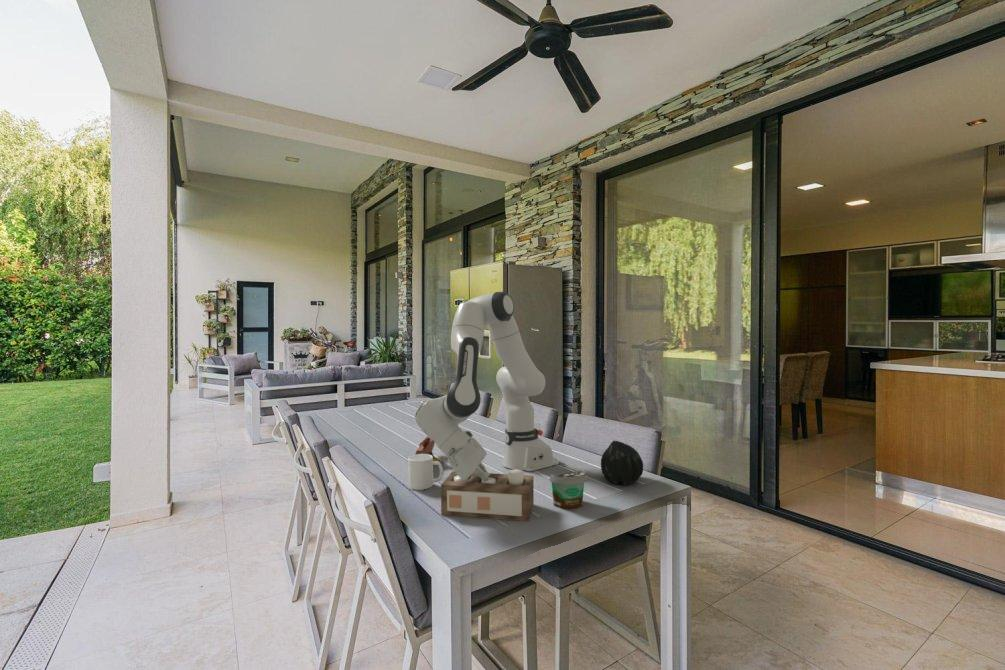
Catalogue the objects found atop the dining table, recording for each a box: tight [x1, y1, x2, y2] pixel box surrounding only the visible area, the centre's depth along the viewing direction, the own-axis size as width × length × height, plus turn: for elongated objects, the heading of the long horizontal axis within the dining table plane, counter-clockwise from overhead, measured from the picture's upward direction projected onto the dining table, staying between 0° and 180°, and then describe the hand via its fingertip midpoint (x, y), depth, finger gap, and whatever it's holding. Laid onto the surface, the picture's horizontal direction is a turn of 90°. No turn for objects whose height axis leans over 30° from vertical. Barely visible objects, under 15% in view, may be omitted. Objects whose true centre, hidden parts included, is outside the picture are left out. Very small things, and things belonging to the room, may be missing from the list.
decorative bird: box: [414, 435, 444, 464], centre depth 184 cm, size 28×18×15 cm, turn 179°
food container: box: [548, 468, 587, 510], centre depth 141 cm, size 12×6×10 cm, turn 114°
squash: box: [600, 440, 644, 486], centre depth 163 cm, size 14×15×15 cm
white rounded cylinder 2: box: [508, 469, 525, 485], centre depth 137 cm, size 4×4×5 cm
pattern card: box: [447, 490, 522, 516], centre depth 133 cm, size 22×1×6 cm, turn 80°
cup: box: [407, 453, 444, 491], centre depth 159 cm, size 8×12×10 cm
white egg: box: [454, 475, 468, 482], centre depth 141 cm, size 4×4×5 cm
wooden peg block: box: [440, 470, 535, 522], centre depth 139 cm, size 26×12×9 cm, turn 80°
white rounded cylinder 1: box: [481, 477, 496, 484], centre depth 139 cm, size 4×4×5 cm
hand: (487, 478), depth 139 cm, fingers closed, pressing on white rounded cylinder 1
